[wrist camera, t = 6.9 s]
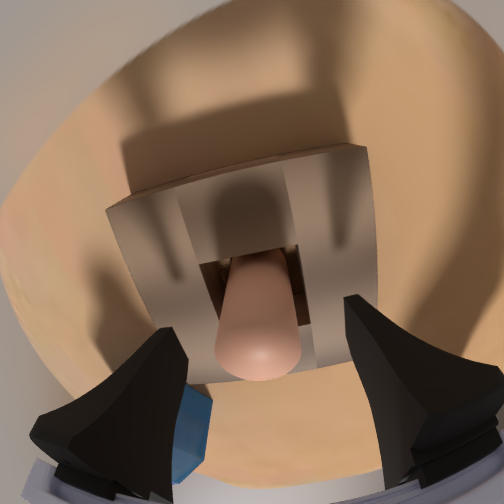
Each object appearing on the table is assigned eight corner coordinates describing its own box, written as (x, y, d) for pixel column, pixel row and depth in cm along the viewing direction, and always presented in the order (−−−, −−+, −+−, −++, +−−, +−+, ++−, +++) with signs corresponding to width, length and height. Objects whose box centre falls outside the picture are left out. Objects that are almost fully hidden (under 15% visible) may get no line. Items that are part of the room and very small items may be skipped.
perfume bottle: (154, 363, 20) (109, 496, 9) (212, 400, 22) (195, 524, 11) (122, 387, 22) (82, 492, 11) (174, 418, 24) (151, 520, 13)
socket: (361, 325, 18) (374, 354, 15) (196, 353, 19) (188, 384, 16) (345, 143, 13) (366, 146, 10) (130, 194, 14) (105, 209, 12)
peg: (291, 283, 17) (307, 372, 10) (240, 295, 17) (230, 385, 11) (279, 234, 15) (292, 311, 9) (223, 248, 16) (201, 329, 9)
